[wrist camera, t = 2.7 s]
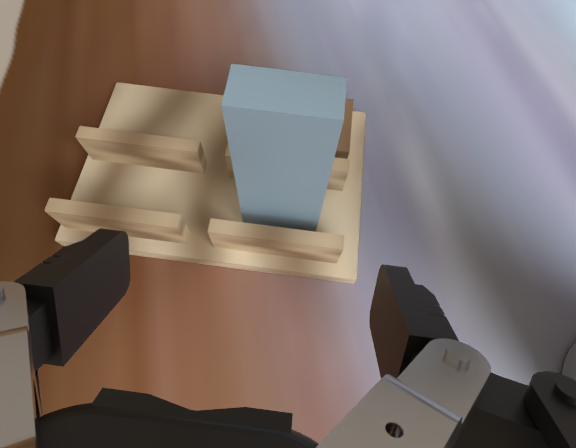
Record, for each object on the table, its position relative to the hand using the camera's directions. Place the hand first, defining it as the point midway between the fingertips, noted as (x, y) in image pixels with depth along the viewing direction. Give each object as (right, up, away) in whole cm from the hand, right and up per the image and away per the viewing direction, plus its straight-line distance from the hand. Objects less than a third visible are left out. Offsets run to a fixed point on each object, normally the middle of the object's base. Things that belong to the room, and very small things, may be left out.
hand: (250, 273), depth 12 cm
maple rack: (-4, +5, +20) cm, 21 cm away
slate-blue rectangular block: (+1, +2, +17) cm, 18 cm away
